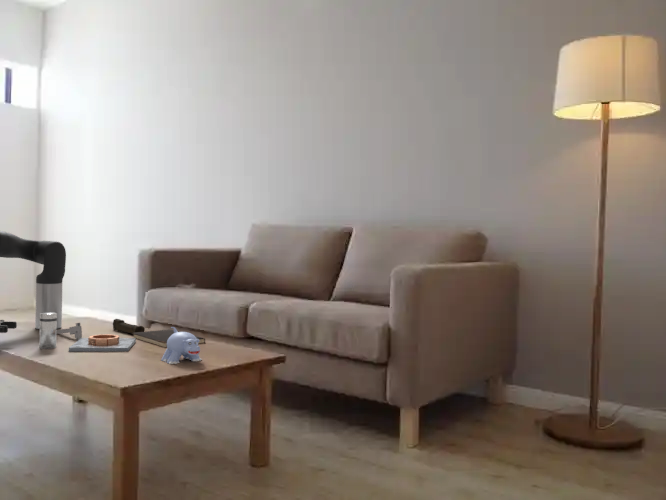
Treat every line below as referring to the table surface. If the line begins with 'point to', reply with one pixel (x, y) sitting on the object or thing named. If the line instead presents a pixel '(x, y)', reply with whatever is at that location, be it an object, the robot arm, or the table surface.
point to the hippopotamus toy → (181, 347)
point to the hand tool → (126, 327)
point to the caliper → (73, 331)
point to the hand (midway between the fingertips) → (11, 327)
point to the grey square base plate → (103, 344)
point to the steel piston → (48, 330)
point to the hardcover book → (159, 337)
